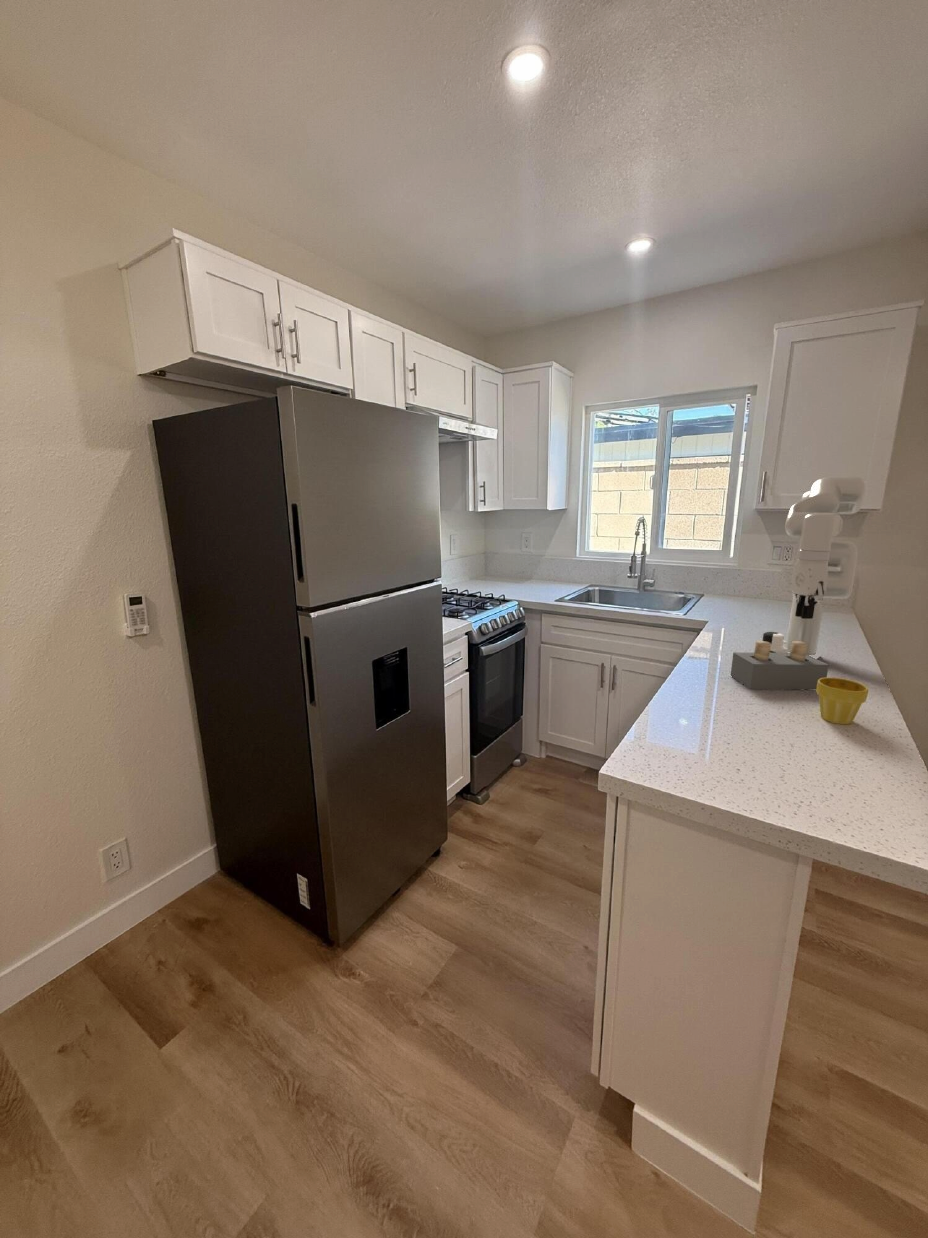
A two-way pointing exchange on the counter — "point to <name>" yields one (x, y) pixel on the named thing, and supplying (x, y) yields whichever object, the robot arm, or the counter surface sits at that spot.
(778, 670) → the collar block
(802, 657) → the peg
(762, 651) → the peg
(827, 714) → the plant pot
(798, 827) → the counter surface
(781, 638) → the medicine bottle
